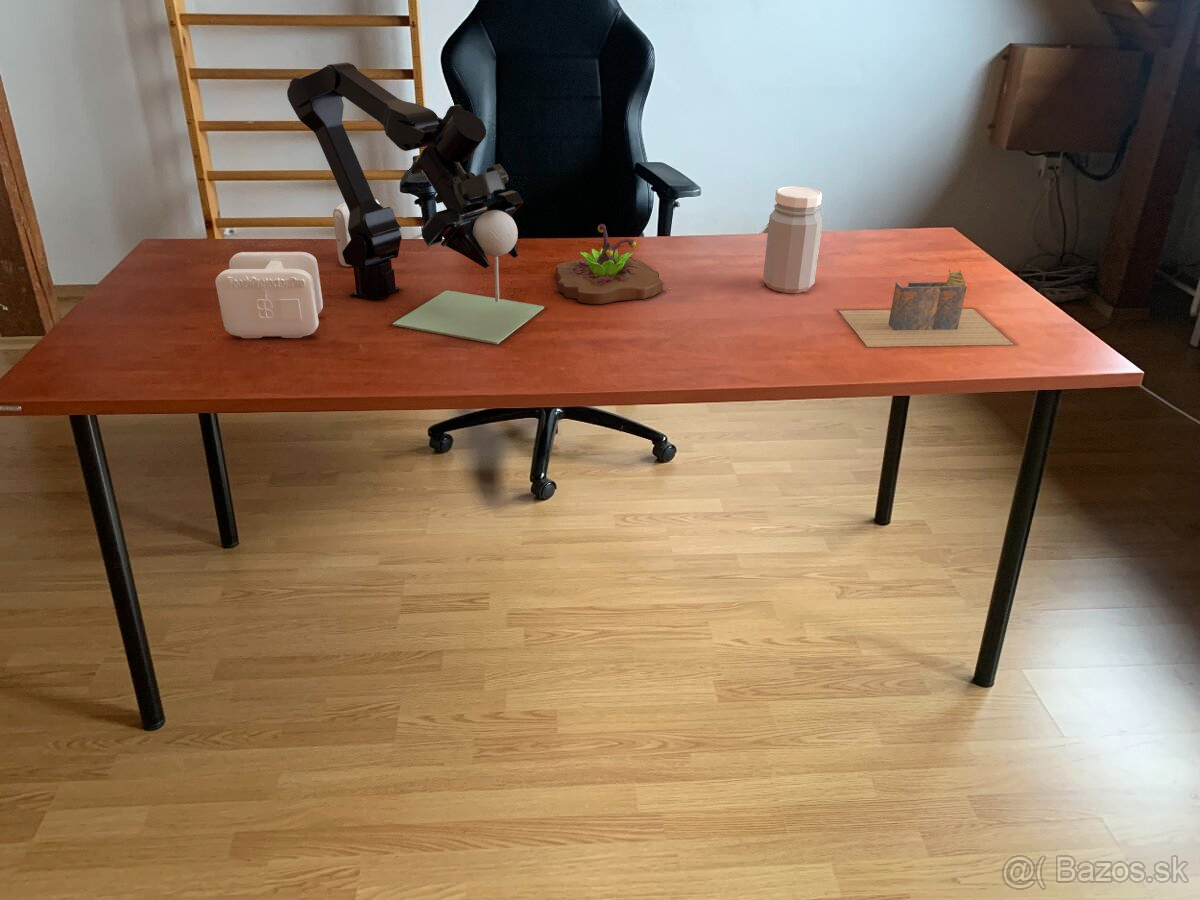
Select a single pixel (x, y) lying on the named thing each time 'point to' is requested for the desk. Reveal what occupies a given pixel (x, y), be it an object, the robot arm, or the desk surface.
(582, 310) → the desk surface
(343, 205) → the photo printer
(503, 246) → the lollipop
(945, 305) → the ruin model on sheet
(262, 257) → the cable organizer
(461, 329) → the desk mat
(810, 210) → the jar
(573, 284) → the plant
